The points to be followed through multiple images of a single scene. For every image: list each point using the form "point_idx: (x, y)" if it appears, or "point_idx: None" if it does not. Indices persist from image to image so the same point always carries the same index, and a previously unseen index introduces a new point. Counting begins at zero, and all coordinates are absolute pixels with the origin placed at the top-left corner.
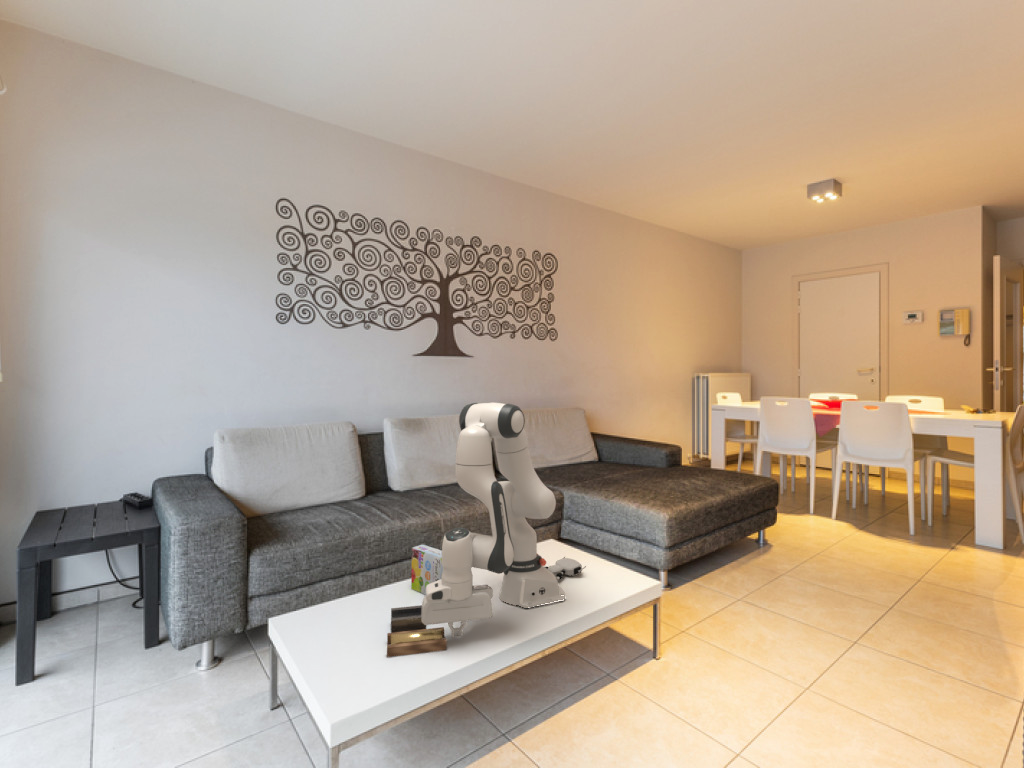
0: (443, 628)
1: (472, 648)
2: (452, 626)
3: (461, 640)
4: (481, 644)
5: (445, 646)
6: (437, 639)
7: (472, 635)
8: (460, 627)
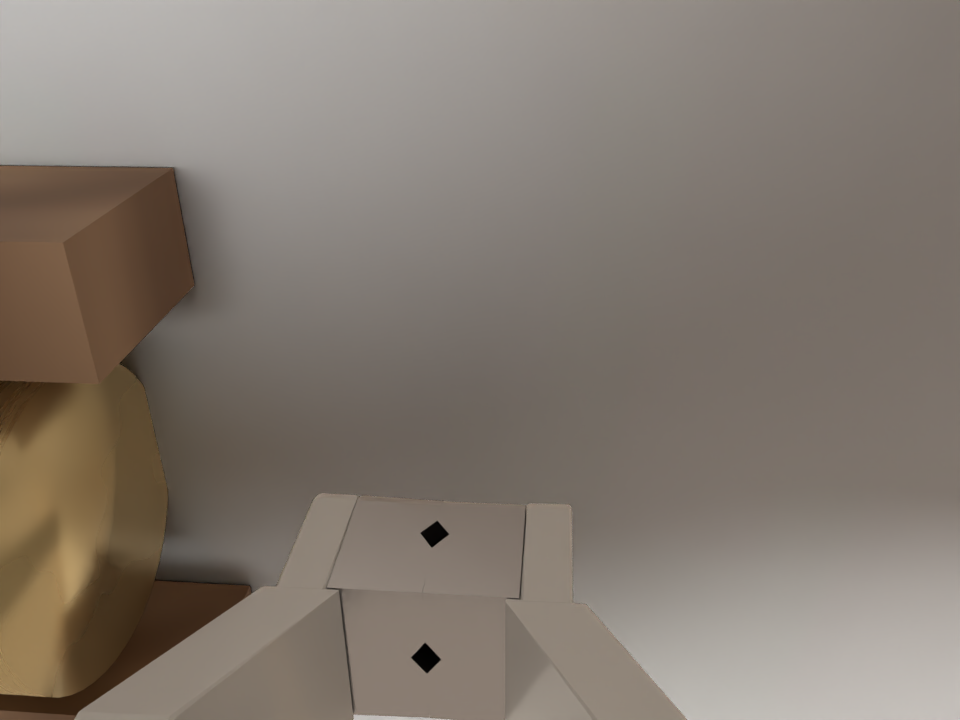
0: (64, 321)
1: (704, 710)
2: (276, 711)
3: (560, 448)
4: (908, 653)
5: None
6: (10, 713)
7: (859, 316)
8: (524, 694)
